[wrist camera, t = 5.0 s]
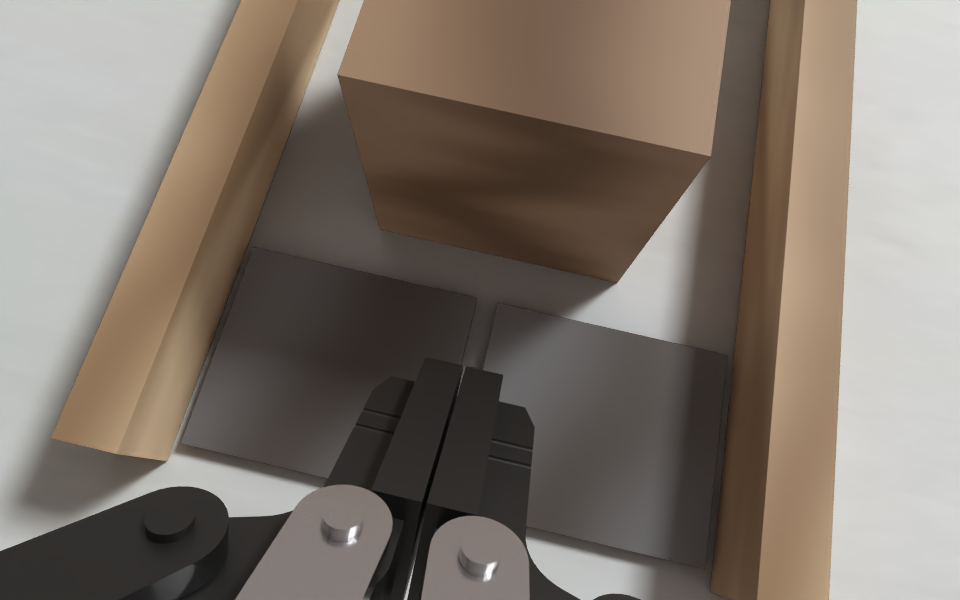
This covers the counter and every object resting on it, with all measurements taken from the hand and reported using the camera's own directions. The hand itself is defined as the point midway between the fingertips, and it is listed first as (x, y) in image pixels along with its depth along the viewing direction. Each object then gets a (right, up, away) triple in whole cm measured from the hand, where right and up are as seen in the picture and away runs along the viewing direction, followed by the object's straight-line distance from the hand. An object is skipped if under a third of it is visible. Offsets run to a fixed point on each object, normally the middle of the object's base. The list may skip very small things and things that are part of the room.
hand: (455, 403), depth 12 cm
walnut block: (+2, +6, +7) cm, 10 cm away
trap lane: (+2, +9, +8) cm, 13 cm away
